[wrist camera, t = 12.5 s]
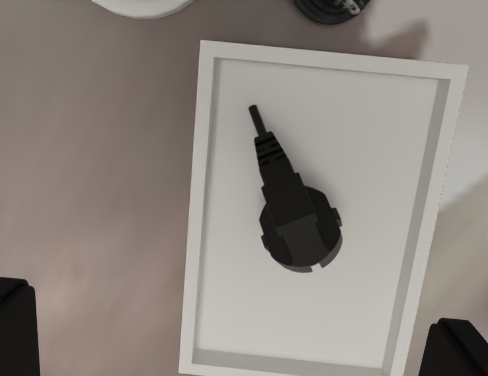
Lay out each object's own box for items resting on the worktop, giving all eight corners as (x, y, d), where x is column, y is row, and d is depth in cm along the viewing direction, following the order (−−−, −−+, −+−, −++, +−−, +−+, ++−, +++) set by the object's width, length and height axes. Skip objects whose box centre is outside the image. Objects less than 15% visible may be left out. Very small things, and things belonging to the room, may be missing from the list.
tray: (205, 43, 31) (200, 39, 28) (452, 67, 30) (469, 65, 28) (184, 354, 37) (178, 372, 34) (389, 376, 36) (398, 397, 34)
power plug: (286, 86, 30) (353, 241, 25) (301, 133, 37) (356, 263, 32) (214, 117, 30) (266, 274, 26) (241, 158, 37) (287, 288, 32)
